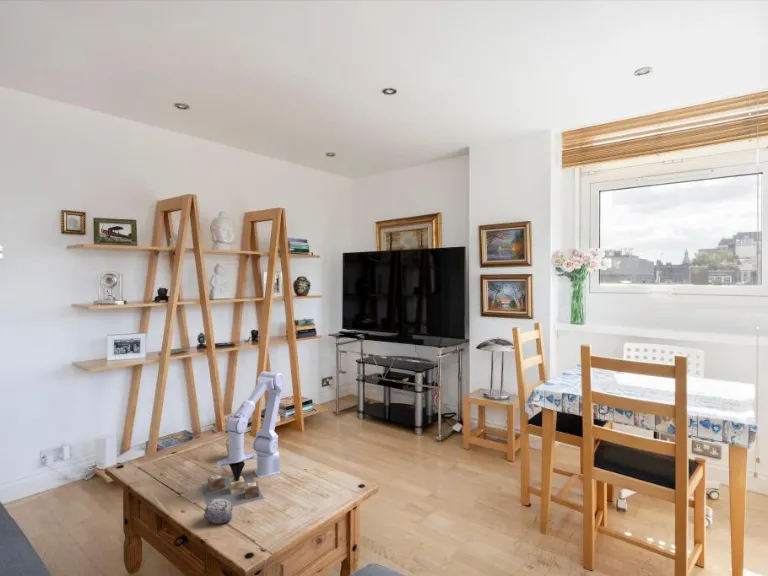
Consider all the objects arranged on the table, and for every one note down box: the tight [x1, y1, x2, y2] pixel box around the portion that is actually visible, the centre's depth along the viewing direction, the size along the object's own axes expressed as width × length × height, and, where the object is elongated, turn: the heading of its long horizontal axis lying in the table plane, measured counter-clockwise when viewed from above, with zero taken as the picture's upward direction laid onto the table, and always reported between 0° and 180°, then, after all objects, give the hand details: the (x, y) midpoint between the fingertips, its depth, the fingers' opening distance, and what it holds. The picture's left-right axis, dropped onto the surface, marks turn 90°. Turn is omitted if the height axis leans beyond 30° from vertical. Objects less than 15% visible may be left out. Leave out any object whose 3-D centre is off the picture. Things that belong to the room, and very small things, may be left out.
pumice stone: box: [203, 499, 233, 525], centre depth 149 cm, size 10×8×10 cm
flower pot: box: [224, 437, 246, 458], centre depth 201 cm, size 9×9×9 cm
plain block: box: [229, 476, 244, 494], centre depth 170 cm, size 5×5×4 cm
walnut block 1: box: [207, 473, 226, 492], centre depth 172 cm, size 5×5×4 cm
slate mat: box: [200, 472, 264, 507], centre depth 169 cm, size 20×24×1 cm
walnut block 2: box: [245, 480, 260, 499], centre depth 166 cm, size 5×5×4 cm
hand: (236, 480), depth 170 cm, fingers closed, pressing on plain block
